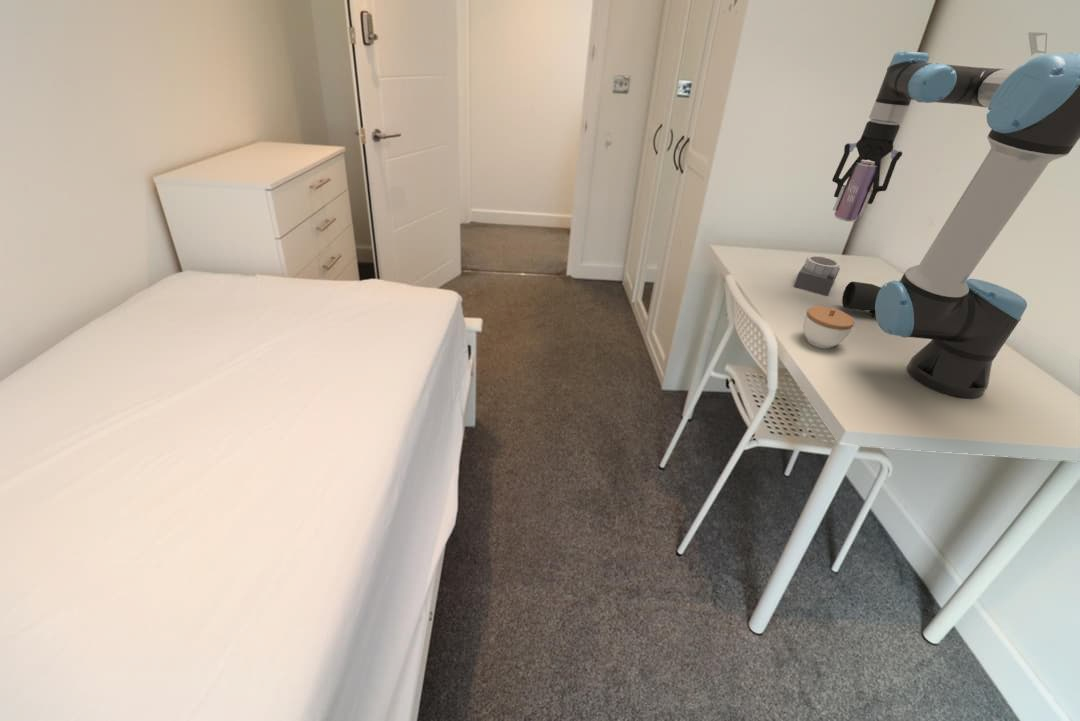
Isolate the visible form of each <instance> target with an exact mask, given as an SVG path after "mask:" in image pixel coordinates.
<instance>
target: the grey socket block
mask: <svg viewBox="0 0 1080 721" xmlns="http://www.w3.org/2000/svg"><path fill="white" fill-rule="evenodd" d="M840 266H841V263H840V262H839V261H838V260H835V259H833V258H832V257H831V258H830V257H827V256H823V255H816V254H815V255H808V256H807V257H806V259H805V263H804V264H803V265H802V267H801V269H800V270H799V272H798V274H797V277H796V280H795V282H794V285H793V287H794V288H797V289H800V290H801V289H802V290H805V291H808V292H813V293H815V294H820V295H823V296H827V297H828V296H829V295H830V292H831V290H832V288H833V286H834V284H835V282H836V279H837V277H838V275H839V273H840V269H841V267H840Z"/></svg>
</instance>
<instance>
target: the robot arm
mask: <svg viewBox="0 0 1080 721" xmlns="http://www.w3.org/2000/svg"><path fill="white" fill-rule="evenodd" d="M929 58H930V54H929V53H928V52H921V51H920V52H919V51H906V50H905V51H904V50H898V51H897V52H895V53H894V55H893V56H892V59H891V61H890V63H889V65H888V66H887V69H886V73H885V75H884V77H883V80H882V82H881V85H880V89H879V91H878V94H877V95H876V96H877V97H876V99H875V101H874V104H873V106H872V109H871V112H870V113H869V116H868V118H869V119H870V120H869V121H867V122H866V123H865V127H864V130H863V132H862V134H861V136H860V139H859V140H858V141H857V142H852V143H850V142H847V143H845V145H844V148H843V149H844V150H843V155H842V157H841V159H840V161H839V164H838V166H837V168H836V170H835V173H834V175H833V177H832V182H833V183H835V184H837V186H836V189H835V191H834V194H833V197H834V198H837V199H836V200H835V203H834V207H833V208H832V211H835V212H836V209H837V207H838V204H839V202H840V199H841V196H842V194H843V191H844V189H845V186H846V184H845V183H846V182H847V181H848V179H849V176H850V175H851V173H852V171H853V168H854V166H855V165H856V164H857V162H858V163H860V162H861V161H869V162H873V163H875V165H877V166H878V167H877V171H876V174H875V176H874V181H873V184H872V189H870V191H869V193H868V195H867V197H866V200H865V202H864V204H863V207H862V209H861V212H860V214H859V217H862V216H863V214H864V212H865V210H866V208H867V205H872V204H873V203H874V201H875V198H876V196H877V194H878V193H879V192H885V191H887V190H888V186H889V183H890V180H891V178H892V175H893V173H894V170H895V167H896V164H897V162H898V161H899V160H900V159H901V157H902V156H903V151H902V150H897V149H896V148H894V142H895V140H896V137H897V135H898V133H899V130H900V126H901V125H900V123H903V120H904V118H905V116H906V114H907V111H908V108H909V106H910V104H911V102H912V101H915V102H916V103H917V102H918V103H925V104H928V103H939V104H950V105H951V104H953V105H955V104H956V105H964V106H974V107H979V108H987V110H989V111H988V112H987V113H986V123H987V126H988V127H989V128H990V129H991V130H990V131H989V133H988V135H987V136H986V138H987V140H988V143H989V146H990V150H989V151H988V153H987V154H986V156H985V158H984V159H983V161H982V162H981V164H980V166H979V167H978V169H977V171H976V172H975V173H974V175H973V178H972V179H971V180H970V182H969V184H968V185H967V187H966V188H965V190H964V192H963V193H962V195H961V197H960V198H959V199H958V202H957V203H956V204H955V206H954V208H953V210H952V211H951V213H950V214H949V215H948V218H947V219H946V221H945V222H944V224H943V226H942V227H941V229H940V230H939V232H938V233H937V235H936V237H935V239H934V240H933V241H932V244H931V245H930V247H929V248H928V250H927V251H926V253H925V254H924V256H923V258H922V259H921V261H920V263H919V264H916V265H913V266H910V267H908V268H907V269H906V270H905V272H904V274H903V275H902V277H901V278H900V280H894V279H893V280H891V281H888V282H885V283H884V284H883V285H882V286H880V287H881V289H880V291H879V293H878V295H877V298H876V303H875V315H876V318H875V319H876V322H877V324H878V326H879V328H880V329H881V330H882V331H883V332H884V333H885V334H888V335H891V336H899V337H901V338H914V339H915V338H916V339H924V340H925V339H926V340H930V342H928V343H927V344H926V345H925V346H924V347H923V348H921V349H920V350H919V351H918V352H917V353H916V354H914V355H913V356H912V357H911V359H910V361H909V362H908V364H907V367H906V369H907V372H908V373H909V374H910V376H911V377H913V379H915V380H916V381H918V382H919V383H921V384H923V385H924V386H926V387H929V388H930V389H932V390H935V391H938V393H939V392H940V393H943V394H944V395H949V396H953V397H957V398H962V399H963V398H965V399H976V398H980V397H981V396H983V395H984V393H985V392H986V390H987V389H988V386H989V383H990V377H991V370H992V365H993V361H994V360H995V358H996V357H997V355H998V354H999V352H1000V350H1001V349H1002V347H1003V346H1004V345H1005V343H1006V342H1007V340H1008V339H1009V337H1011V334H1012V333H1013V331H1014V330H1015V329H1016V327H1017V325H1018V324H1019V323H1020V322H1021V321H1022V317H1023V315H1024V312H1025V311H1026V309H1027V307H1028V302H1027V301H1026V299H1025V298H1024V297H1022V296H1021V295H1019V294H1018V293H1017V292H1014V291H1012V290H1010V289H1008V288H1006V287H1003V286H1001V285H998V284H995V283H992V282H989V281H986V280H981V279H978V278H970V277H971V275H972V273H973V271H974V270H975V268H977V266H978V264H979V263H980V262H981V260H982V259H983V257H984V256H985V254H986V253H987V251H988V250H989V249H990V247H991V246H992V245H993V244H994V242H995V240H996V239H997V237H998V236H999V235H1000V233H1001V231H1003V229H1004V228H1005V226H1006V225H1007V223H1008V222H1009V220H1010V219H1011V218H1012V216H1013V215H1014V213H1015V212H1016V211H1017V209H1018V207H1019V206H1021V204H1022V202H1023V201H1024V200H1025V198H1026V197H1027V195H1028V193H1029V192H1030V191H1031V190H1032V189H1033V186H1034V185H1035V183H1036V182H1037V181H1038V180H1039V179H1040V177H1041V175H1042V173H1044V171H1045V170H1046V168H1047V166H1048V165H1049V164H1050V163H1051V162H1053V161H1056V160H1058V159H1060V158H1064V157H1065V156H1068V155H1069V153H1070V152H1071V151H1072V150H1073V148H1075V145H1076V144H1077V143H1078V141H1079V140H1080V52H1077V53H1076V52H1068V53H1064V52H1063V53H1058V52H1055V53H1054V52H1053V53H1045V54H1041V55H1039V56H1036V57H1033V58H1031V59H1029V60H1028V61H1027V62H1025V63H1023V64H1021V65H1020V66H1018V67H1017V68H1016V69H1012V68H1010V69H1009V68H1008V69H1007V68H991V67H978V66H964V65H955V64H945V63H938V62H933V63H932V62H929V60H930V59H929ZM855 148H856V149H857V153H858V156H857V157H856V159H855V161H854V162H853V163H852V165H851V166H850V167H849V168H848V170H847V171H846V172H845V174H844V175H843V176H842V178H840V175H841V174H842V172H843V170H844V168H845V166H846V162H847V161H848V159H849V156H850V153H852V152H853V151H854V150H855ZM888 154H891V155H890V159H891V160H890V162H889V163H890V164H889V167H888V170H887V172H886V175H885V178H884V180H883V182H882V185H880V176H881V166H882V165H881V164H882V159H883V158H884V157H886V156H887V155H888Z"/></svg>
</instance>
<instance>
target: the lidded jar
mask: <svg viewBox="0 0 1080 721" xmlns="http://www.w3.org/2000/svg"><path fill="white" fill-rule="evenodd" d="M854 325H855V320H854V318H853V317H852V316H851V315H849V314H848V313H846V312H844V311H842V310H839V309H837V308H833V307H828V306H821V305H816V306H815V305H814V306H811V307H808V309H807V310H806V315H805V317H804V320H803V325H802V326H803V327H802V329H803V330H802V331H803V333H804V336H805V338H806V341H807V343H809V344H810V345H812V346H813V347H816V348H820V349H826V348H828V349H831V347H832V348H833V347H835V346H838V345H840V344H841V343H843V342H844V341H845V340H846V338H848V336H849V334H850V332H851V330H852V328H853V327H854Z"/></svg>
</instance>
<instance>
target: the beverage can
mask: <svg viewBox="0 0 1080 721" xmlns="http://www.w3.org/2000/svg"><path fill="white" fill-rule="evenodd" d="M877 167H878V166H877V165H875V162H873V161H869V160H862V161H861V162H860V163H858V162H857V164H856V165H855V166H854V168H853V171H852V173H851V175H850V176H849V177H848V179H847V180H846V184H845V185H846V186H845V189H844V191H843V194H842V196H841V199H840V202H839V204H838V207H837V209H836V211H835V212H834V217H835V218H836V219H837V220H840V221H844V222H849V223H850V222H856V221H857V220H858V219H859V217H860V216H859V214H860V212H861V209H862V207H863V204H864V202H865V200H866V197H867V195H868V193H869V191H870V190H871V188H872V187H873V181H874V176H875V174H876V171H877Z"/></svg>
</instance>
